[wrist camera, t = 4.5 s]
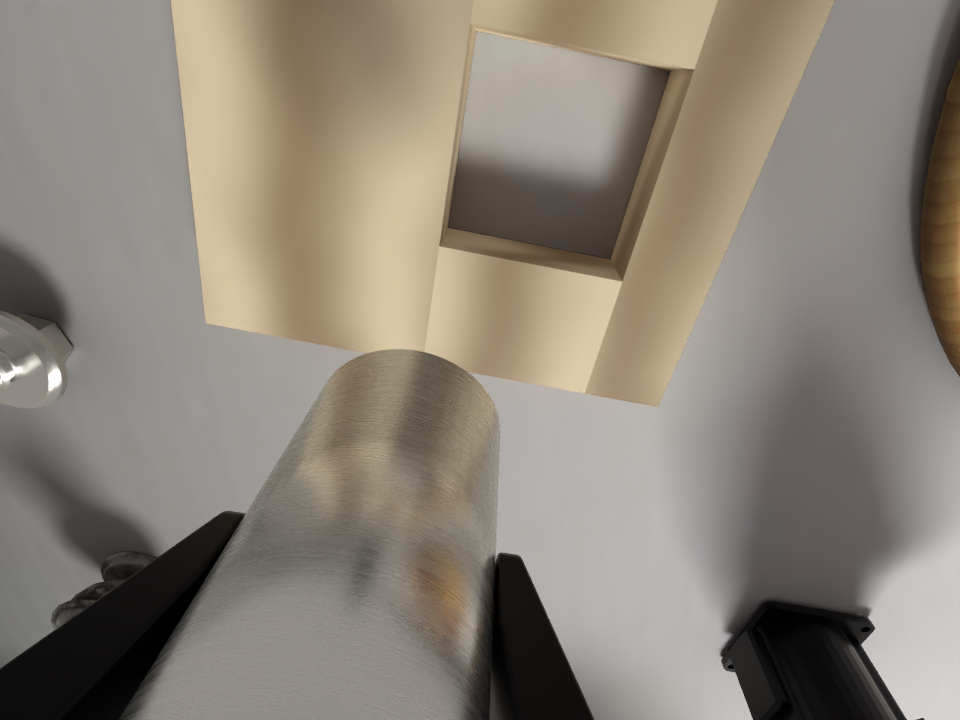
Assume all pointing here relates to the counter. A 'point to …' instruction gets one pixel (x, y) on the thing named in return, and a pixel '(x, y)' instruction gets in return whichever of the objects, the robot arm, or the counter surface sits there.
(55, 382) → the screw
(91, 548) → the counter surface
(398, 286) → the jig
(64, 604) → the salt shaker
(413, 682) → the grey cylindrical piece
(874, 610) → the counter surface
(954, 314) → the wooden plate with food
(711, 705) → the counter surface
